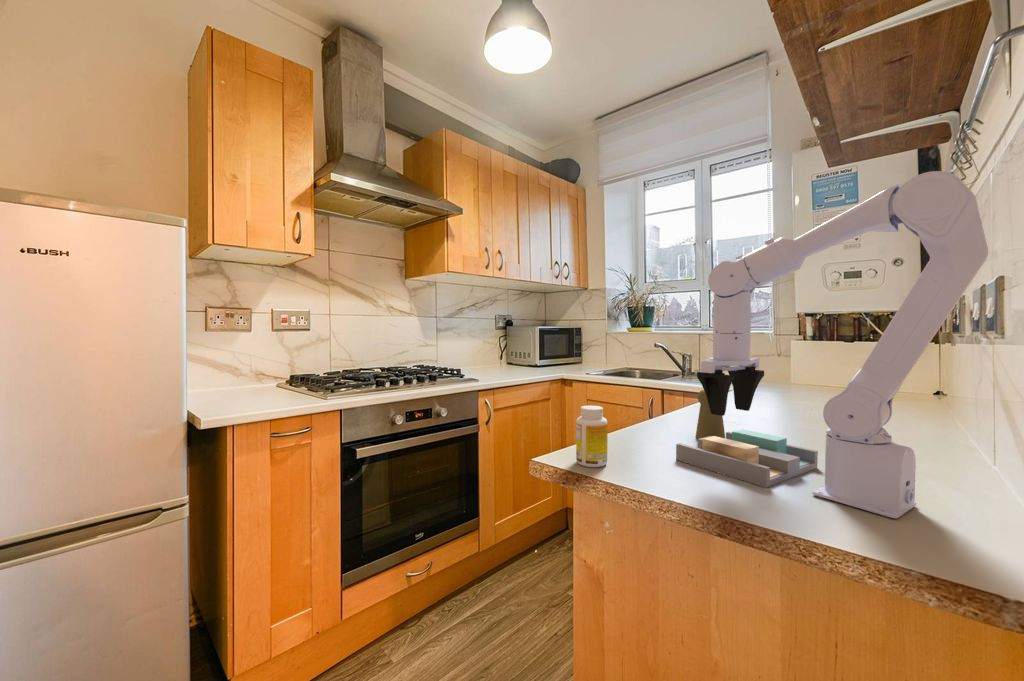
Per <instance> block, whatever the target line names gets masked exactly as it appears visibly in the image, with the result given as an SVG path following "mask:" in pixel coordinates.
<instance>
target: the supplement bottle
mask: <svg viewBox="0 0 1024 681" xmlns="http://www.w3.org/2000/svg"><path fill="white" fill-rule="evenodd" d="M575 426H576V427H575V428H576V429H575V431H576V432H575V433H576V434H575V439H576V440H575V441H576V442H575V444H576V446H575V448H576V449H575V454H576V456H575V457H576V458H575V460H576V463H578V465H581V466H582V467H586V468H602V467H604V466H606V465H607V463H608V419H607V418H606V417H604V407H603V406H600V405H591V404H590V405H583V406H582V405H581V406H580V416H579V417H577V418H576V420H575Z"/></svg>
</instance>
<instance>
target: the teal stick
mask: <svg viewBox="0 0 1024 681" xmlns="http://www.w3.org/2000/svg"><path fill="white" fill-rule="evenodd" d="M731 432H732V440H734V441H738V442H742V443H746V444H751V445H755V446H759V448H763V449H767V450H771V451H776V452H780V453H784V454H786V446H787V444H788V443H787V441H788V440H787V437H784V436H777V435H772V434H767V433H764V432H757V431H753V430H748V429H744V428H741V429H738V430H733V431H731Z"/></svg>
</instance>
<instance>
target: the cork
mask: <svg viewBox="0 0 1024 681" xmlns="http://www.w3.org/2000/svg"><path fill="white" fill-rule="evenodd" d="M697 400H698V402H699V404H700V405H699V406H700V407H699V412H698V419H697V423H696V424H697V425H696V431H695V437H694V439H695V438H696V439H697V441H698V439H700V438H704V437H708V436H716V437H721V438H725V439H726V431H725V425H724V416H720V415H714V414H711V412H710V408H709V404H708V400H707V397H706V394H705V391H704V389H701V390H700V391H699V392H698V394H697ZM696 439H695V440H696Z"/></svg>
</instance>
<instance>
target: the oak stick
mask: <svg viewBox="0 0 1024 681" xmlns="http://www.w3.org/2000/svg"><path fill="white" fill-rule="evenodd" d="M702 449H703V450H707V451H711V452H715V453H718V454H722V455H726V456H729V457H733V458H737V459H741V460H744V461H748V462H752V463H756V464H758V463H759V446H755V445H751V444H746V443H742V442H738V441H734V440H729V439H726V437H725V438H721V437H716V436H712V437H707V438H703V439H702Z"/></svg>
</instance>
